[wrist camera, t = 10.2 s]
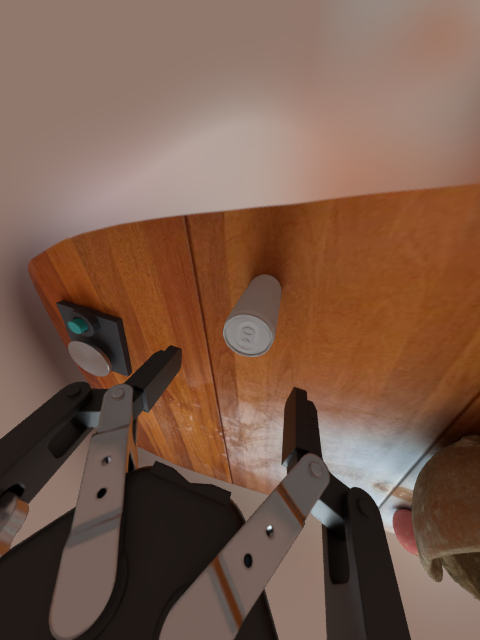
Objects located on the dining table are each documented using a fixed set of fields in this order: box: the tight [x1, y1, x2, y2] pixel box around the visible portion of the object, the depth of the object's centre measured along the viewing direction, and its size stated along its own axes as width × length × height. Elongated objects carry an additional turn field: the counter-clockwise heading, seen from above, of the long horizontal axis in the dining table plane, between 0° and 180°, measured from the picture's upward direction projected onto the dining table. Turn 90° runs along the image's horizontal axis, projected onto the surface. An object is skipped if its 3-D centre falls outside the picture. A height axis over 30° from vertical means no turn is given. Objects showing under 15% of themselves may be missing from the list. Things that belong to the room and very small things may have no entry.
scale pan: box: [68, 339, 112, 376], centre depth 41 cm, size 10×10×1 cm
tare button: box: [68, 318, 88, 334], centre depth 36 cm, size 3×3×2 cm
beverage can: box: [223, 274, 282, 357], centre depth 21 cm, size 5×5×12 cm
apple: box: [393, 509, 419, 556], centre depth 42 cm, size 7×7×8 cm
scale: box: [56, 300, 132, 376], centre depth 40 cm, size 17×14×3 cm
